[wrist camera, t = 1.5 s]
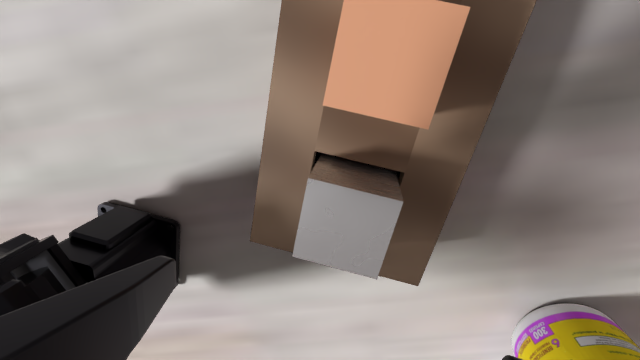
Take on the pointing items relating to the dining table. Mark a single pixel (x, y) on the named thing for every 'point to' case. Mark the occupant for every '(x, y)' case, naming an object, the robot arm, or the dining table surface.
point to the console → (378, 127)
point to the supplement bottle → (571, 335)
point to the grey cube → (348, 215)
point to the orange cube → (393, 58)
